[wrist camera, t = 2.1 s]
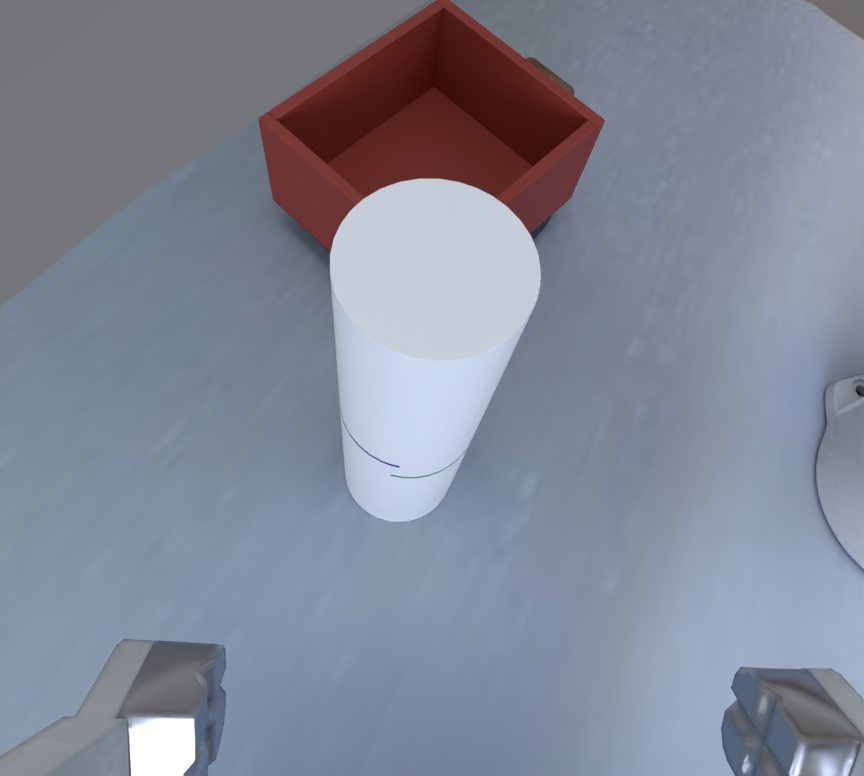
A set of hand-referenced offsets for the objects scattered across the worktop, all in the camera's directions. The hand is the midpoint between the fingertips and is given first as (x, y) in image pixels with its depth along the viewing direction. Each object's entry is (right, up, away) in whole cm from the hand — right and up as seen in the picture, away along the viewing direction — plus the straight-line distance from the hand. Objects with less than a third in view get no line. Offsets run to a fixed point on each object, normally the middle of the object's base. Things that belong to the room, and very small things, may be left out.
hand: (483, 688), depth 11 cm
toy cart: (0, +19, +44) cm, 48 cm away
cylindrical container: (-3, -1, +36) cm, 36 cm away
